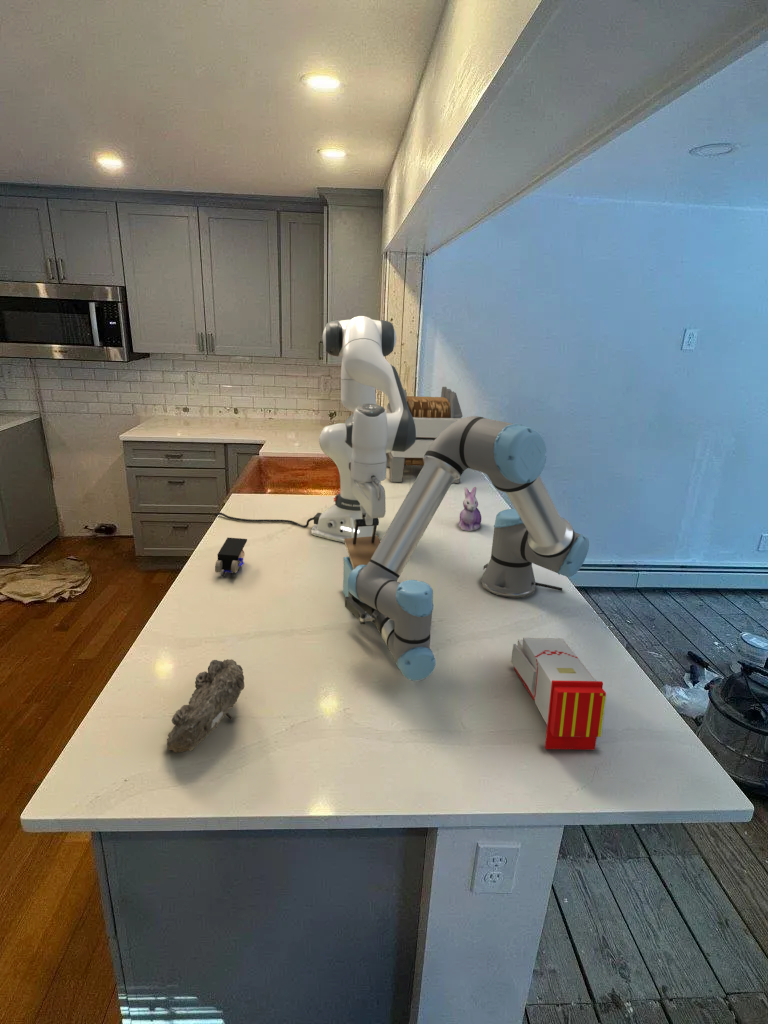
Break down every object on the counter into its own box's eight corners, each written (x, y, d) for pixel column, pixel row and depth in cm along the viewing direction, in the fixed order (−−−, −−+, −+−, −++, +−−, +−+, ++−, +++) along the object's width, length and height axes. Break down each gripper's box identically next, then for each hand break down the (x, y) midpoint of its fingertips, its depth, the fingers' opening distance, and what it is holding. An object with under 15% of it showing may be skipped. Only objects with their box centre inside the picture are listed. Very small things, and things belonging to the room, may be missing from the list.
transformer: (382, 463, 289) (386, 382, 275) (445, 464, 293) (451, 384, 279) (390, 482, 257) (394, 392, 243) (460, 483, 261) (468, 394, 247)
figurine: (467, 533, 203) (471, 493, 198) (451, 523, 211) (454, 485, 206) (488, 529, 207) (492, 490, 202) (471, 520, 215) (475, 482, 210)
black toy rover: (238, 584, 162) (249, 557, 175) (236, 562, 158) (247, 536, 172) (215, 584, 161) (227, 556, 175) (212, 561, 158) (225, 535, 171)
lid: (344, 540, 152) (347, 515, 147) (377, 538, 155) (382, 512, 149) (356, 578, 142) (360, 552, 136) (392, 575, 145) (397, 549, 139)
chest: (342, 592, 158) (343, 557, 154) (375, 588, 160) (376, 554, 157) (355, 616, 145) (356, 579, 142) (390, 612, 148) (392, 575, 144)
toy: (559, 621, 128) (615, 689, 99) (553, 675, 131) (607, 757, 102) (506, 620, 128) (547, 687, 99) (501, 674, 131) (540, 756, 101)
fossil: (192, 660, 117) (244, 628, 112) (224, 691, 120) (276, 661, 115) (142, 746, 98) (202, 712, 93) (182, 779, 101) (242, 748, 96)
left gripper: (393, 482, 134) (390, 536, 139) (369, 459, 152) (368, 508, 157) (367, 483, 132) (365, 538, 137) (346, 460, 150) (345, 509, 155)
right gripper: (348, 649, 126) (327, 601, 146) (440, 637, 133) (408, 592, 153) (349, 620, 124) (327, 575, 144) (442, 608, 130) (409, 567, 150)
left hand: (366, 521), depth 147 cm, fingers closed on lid, 2 cm apart
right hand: (369, 584), depth 148 cm, fingers closed on chest, 9 cm apart
